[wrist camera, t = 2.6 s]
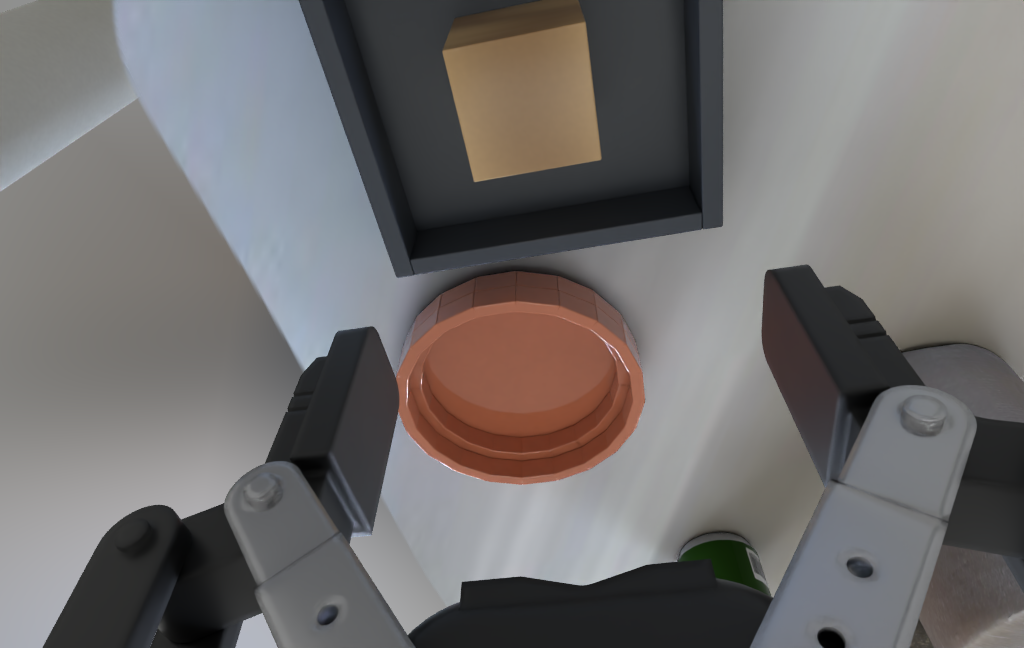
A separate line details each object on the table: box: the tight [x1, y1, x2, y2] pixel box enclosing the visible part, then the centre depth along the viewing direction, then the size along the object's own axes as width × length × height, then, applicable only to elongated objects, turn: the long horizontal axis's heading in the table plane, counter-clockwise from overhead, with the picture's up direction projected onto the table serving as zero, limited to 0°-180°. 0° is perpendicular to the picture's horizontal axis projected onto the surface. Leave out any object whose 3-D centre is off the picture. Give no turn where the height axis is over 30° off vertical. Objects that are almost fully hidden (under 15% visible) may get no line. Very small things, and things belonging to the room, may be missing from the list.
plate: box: [396, 271, 645, 485], centre depth 33 cm, size 12×12×3 cm
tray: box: [299, 0, 723, 278], centre depth 24 cm, size 14×14×3 cm
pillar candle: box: [902, 344, 1024, 648], centre depth 30 cm, size 10×10×15 cm
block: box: [442, 0, 602, 182], centre depth 23 cm, size 4×4×4 cm
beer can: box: [678, 533, 771, 596], centre depth 40 cm, size 5×5×12 cm
